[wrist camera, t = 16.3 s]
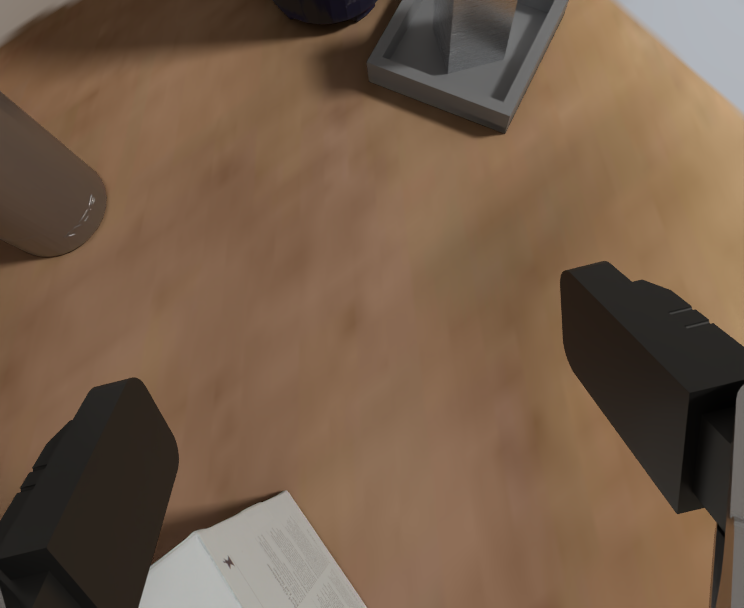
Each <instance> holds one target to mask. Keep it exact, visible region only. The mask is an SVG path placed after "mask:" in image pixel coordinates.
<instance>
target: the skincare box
mask: <svg viewBox="0 0 744 608" xmlns="http://www.w3.org/2000/svg"><path fill="white" fill-rule="evenodd" d="M138 608H367V607H366V605H365V604H364V603H363V601H362V600H361V598H360V597H359V595H358V594H357V592H356V591H355V589H354V588H353V586H352V585H351V583H350V582H349V580H348V579H347V577H346V576H345V575H344V573H343V572H342V570H341V569H340V567H339V566H338V564H337V563H336V561H335V560H334V558H333V557H332V555H331V554H330V553H329V551H328V550H327V548H326V547H325V545H324V544H323V542H322V541H321V539H320V538H319V536H318V535H317V533H316V532H315V530H314V529H313V527H312V526H311V525H310V523H309V522H308V520H307V519H306V517H305V516H304V514H303V513H302V511H301V510H300V508H299V507H298V505H297V504H296V503H295V501H294V500H293V498H292V497H291V495H290V494H289V492H288V491H287V490H285V491H282V492H281V493H279V494H278V495H276V496H274V497H272V498H270V499H268V500H266V501H264V502H259V503H257V504H254V505H252V506H250V507H248V508H246V509H245V510H243V511H241V512H240V513H238V514H236V515H235V516H233V517H231V518H228V519H226V520H224V521H222V522H220V523H218V524H216V525H214V526H212V527H209V528H207V529H200V530H197V531H194V532H192V533H191V534H190V535H189V536H188V537H187V538H186V539H185V540H183V541H182V542H181V543H180V544H178V545H177V546H176V547H175V548H173V549H172V550H171V551H169V552H168V553H167V554H165V555H164V556H163V557H162V558H160V559H159V560H158V561H156V562H155V563H154V564H152V565H151V566H150V569H149V572H148V576H147V579H146V583H145V586H144V590H143V593H142V597H141V600H140V604H139V607H138Z"/></svg>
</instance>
